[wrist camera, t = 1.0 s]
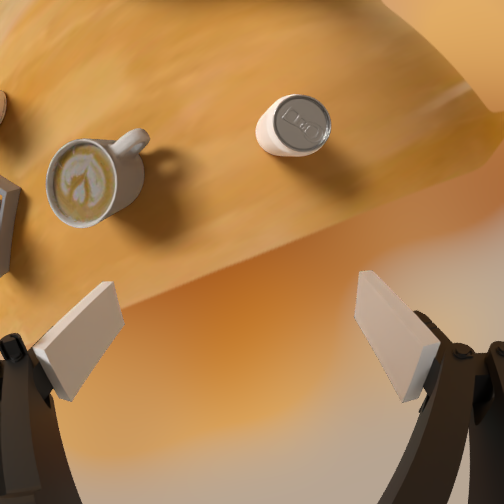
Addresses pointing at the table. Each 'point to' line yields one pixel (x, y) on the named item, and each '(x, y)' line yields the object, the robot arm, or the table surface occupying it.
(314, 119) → the can
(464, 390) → the robot arm
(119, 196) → the coffee mug
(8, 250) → the divider rack
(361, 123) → the table surface
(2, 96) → the supplement can
